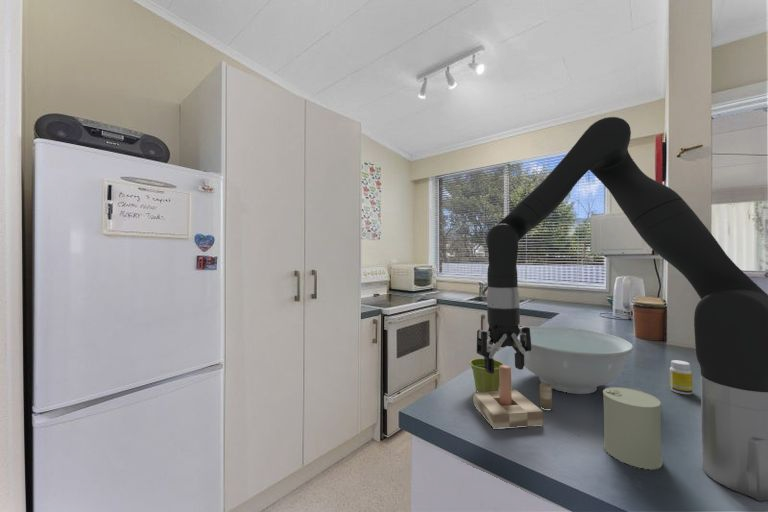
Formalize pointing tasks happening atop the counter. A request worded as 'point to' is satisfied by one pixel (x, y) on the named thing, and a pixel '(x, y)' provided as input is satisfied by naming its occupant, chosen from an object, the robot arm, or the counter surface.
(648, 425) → the can
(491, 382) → the plant pot
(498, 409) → the socket block
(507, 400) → the long dowel
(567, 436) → the counter surface
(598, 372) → the bowl
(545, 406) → the short dowel
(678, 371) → the supplement bottle
